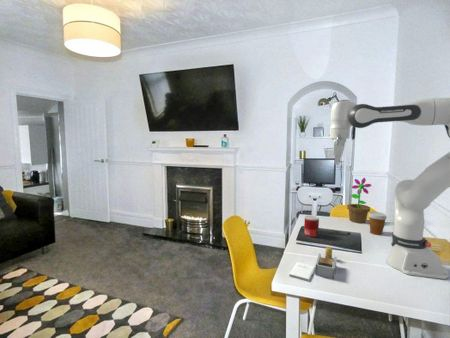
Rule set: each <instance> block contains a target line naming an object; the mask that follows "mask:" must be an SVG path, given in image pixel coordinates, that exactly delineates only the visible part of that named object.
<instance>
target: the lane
mask: <svg viewBox="0 0 450 338" xmlns="http://www.w3.org/2000/svg"><path fill="white" fill-rule="evenodd" d="M321 257H322V253H318V256H317V259H316V263H315V270H314V275H315V276H318V277H323V278H327V279H331V280H335V276H336V269H337V260H338V259H337V258H338V257H337V256H334V259H333V265H332V267H327V266H323V265H319V262H320V258H321Z"/></svg>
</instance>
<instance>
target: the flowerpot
mask: <svg viewBox="0 0 450 338" xmlns="http://www.w3.org/2000/svg"><path fill="white" fill-rule="evenodd" d="M366 180H367V179H366V177H363V178H362V179H361V182H360V180H359V179H356V178H354V182H355V183H356V185H352V186H351V189H354V190H355V189H358V190H357V193H353V194H351V195H350V197H352V198H353V199H358V200H357V201H358V202H357V203H348V204H347V205H346V209H347V210H348V217H349V218H348V219H349V221H350V222H351V223H355V224H366V222H367V218H368V215H369V213H370V212H371V207H370V206H369V205H365V204H367V202H366V201H364V200H361V194H362V191H363V192H364V193H365V194H367V195H368V194H369V190H368V189H367V188H370V187H372V184H371V183H366Z"/></svg>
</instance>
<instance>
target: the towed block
mask: <svg viewBox="0 0 450 338" xmlns="http://www.w3.org/2000/svg"><path fill="white" fill-rule="evenodd" d="M324 251H325V254H324V255H325V256H324V257H322V256H321V258H320V262H319V265H323V266H327V267H332V268H333V264H334V259H333V248H332V247H330V246H327V247H325V250H324Z"/></svg>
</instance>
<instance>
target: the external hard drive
mask: <svg viewBox="0 0 450 338" xmlns="http://www.w3.org/2000/svg"><path fill="white" fill-rule="evenodd" d="M315 267H316V265H311V264H307V263H304V262H299V261H297V262H296V263H295V265H294V266H293V268H292V270H291V271H290V273H289V277H291V278H295V279H298V280H301V281H306V282H310V280H311V279H312V275H313V274H314V273H315Z"/></svg>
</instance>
